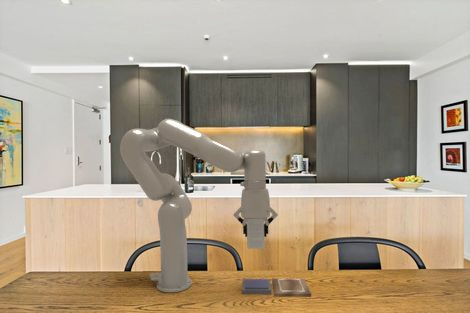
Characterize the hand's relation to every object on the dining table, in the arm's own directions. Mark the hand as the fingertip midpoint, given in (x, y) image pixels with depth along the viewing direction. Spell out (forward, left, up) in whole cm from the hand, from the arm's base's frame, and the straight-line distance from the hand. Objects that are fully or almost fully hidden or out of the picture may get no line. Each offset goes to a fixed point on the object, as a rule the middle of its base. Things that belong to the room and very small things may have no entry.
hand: (255, 235), depth 110 cm
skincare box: (0, 0, -4) cm, 4 cm away
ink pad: (0, 0, -19) cm, 19 cm away
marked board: (+12, 0, -19) cm, 22 cm away
